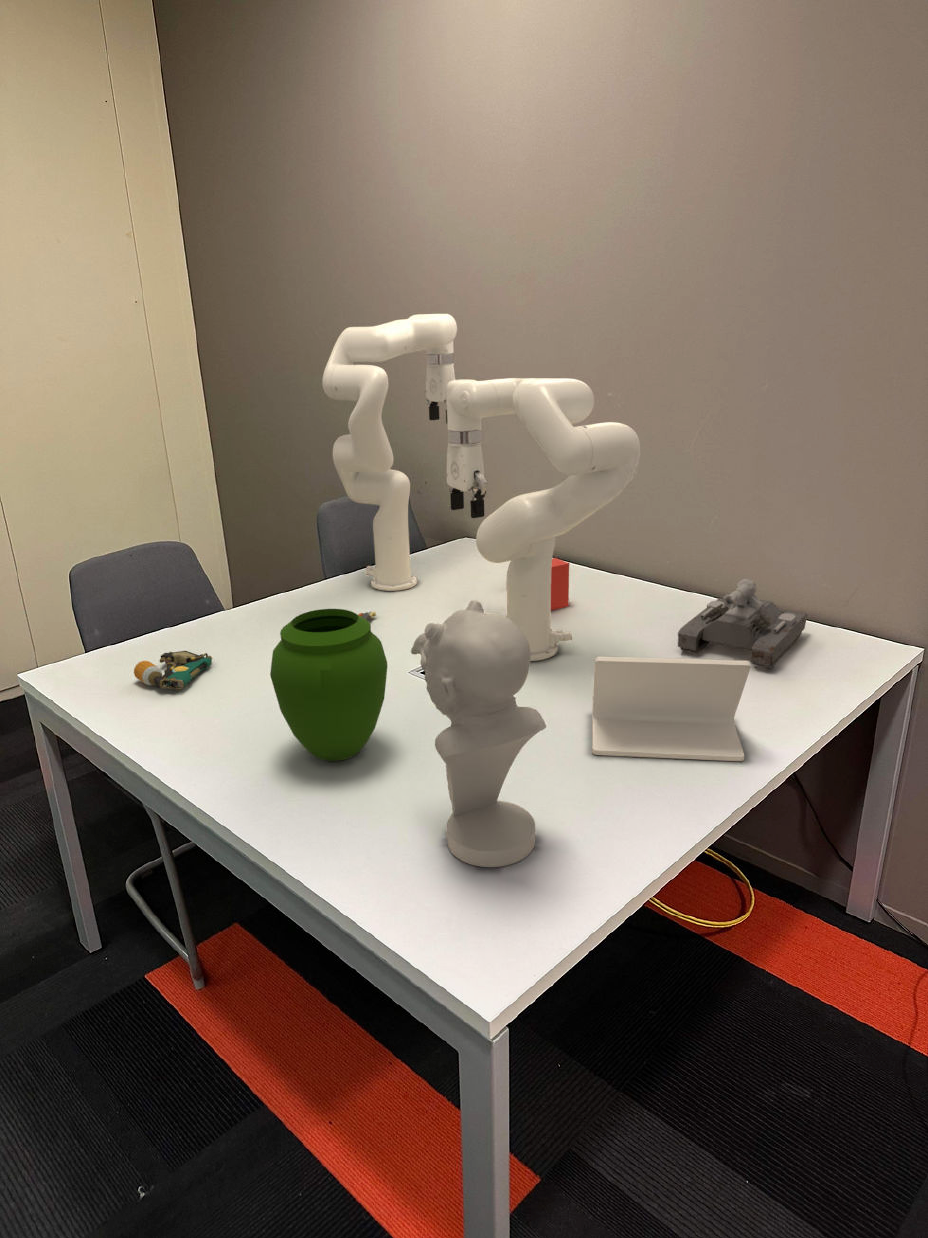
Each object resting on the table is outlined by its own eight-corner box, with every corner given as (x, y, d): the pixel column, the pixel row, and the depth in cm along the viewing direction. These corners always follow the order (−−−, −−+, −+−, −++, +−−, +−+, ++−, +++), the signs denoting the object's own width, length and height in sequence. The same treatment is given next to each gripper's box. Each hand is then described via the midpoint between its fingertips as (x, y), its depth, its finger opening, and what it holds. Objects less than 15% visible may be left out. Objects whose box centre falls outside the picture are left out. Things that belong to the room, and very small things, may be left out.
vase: (415, 740, 151) (408, 611, 143) (343, 792, 136) (331, 651, 127) (331, 715, 161) (319, 593, 153) (256, 761, 146) (238, 628, 137)
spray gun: (177, 659, 191) (231, 671, 185) (120, 684, 176) (176, 698, 171) (176, 641, 190) (230, 653, 184) (118, 665, 175) (174, 678, 169)
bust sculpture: (481, 772, 140) (476, 569, 128) (565, 848, 120) (569, 617, 108) (392, 800, 134) (378, 588, 121) (465, 886, 114) (457, 642, 101)
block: (527, 606, 215) (527, 563, 211) (554, 600, 219) (555, 557, 215) (540, 613, 210) (540, 569, 206) (568, 606, 215) (569, 563, 211)
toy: (718, 618, 203) (723, 557, 198) (805, 634, 192) (812, 570, 187) (676, 653, 184) (680, 587, 179) (769, 673, 173) (777, 604, 168)
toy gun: (311, 634, 194) (352, 630, 192) (338, 611, 212) (376, 607, 210) (313, 645, 195) (354, 642, 193) (340, 621, 213) (378, 618, 211)
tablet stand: (744, 761, 141) (754, 667, 135) (592, 754, 145) (595, 663, 139) (728, 711, 158) (736, 626, 152) (592, 707, 162) (594, 623, 156)
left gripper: (414, 359, 247) (417, 419, 253) (444, 362, 233) (446, 426, 239) (436, 358, 251) (439, 417, 257) (467, 360, 237) (469, 423, 243)
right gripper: (432, 434, 195) (435, 508, 201) (468, 443, 180) (470, 523, 186) (461, 431, 198) (464, 504, 204) (499, 440, 183) (500, 518, 189)
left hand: (442, 421), depth 248 cm, fingers open, 9 cm apart
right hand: (467, 513), depth 195 cm, fingers open, 9 cm apart
